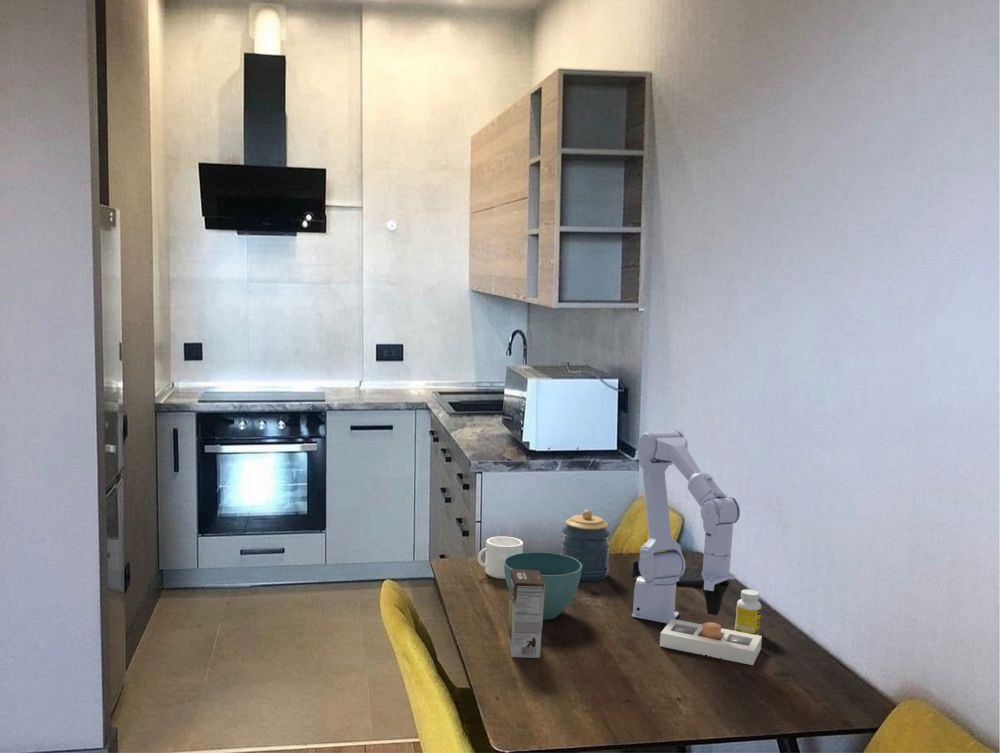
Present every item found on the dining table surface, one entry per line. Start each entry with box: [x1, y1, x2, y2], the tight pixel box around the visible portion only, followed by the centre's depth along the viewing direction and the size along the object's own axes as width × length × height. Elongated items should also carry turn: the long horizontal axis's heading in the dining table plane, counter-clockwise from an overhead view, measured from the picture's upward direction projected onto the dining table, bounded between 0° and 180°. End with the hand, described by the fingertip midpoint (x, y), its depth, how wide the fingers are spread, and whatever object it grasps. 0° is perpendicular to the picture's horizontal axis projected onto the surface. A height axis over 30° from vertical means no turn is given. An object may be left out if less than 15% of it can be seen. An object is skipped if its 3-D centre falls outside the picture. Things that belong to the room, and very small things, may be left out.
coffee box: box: [507, 569, 545, 659], centre depth 203 cm, size 9×6×16 cm
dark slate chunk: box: [631, 560, 704, 587], centre depth 258 cm, size 15×22×5 cm
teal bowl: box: [504, 551, 582, 621], centre depth 225 cm, size 18×18×12 cm
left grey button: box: [675, 626, 693, 635], centre depth 212 cm, size 4×4×3 cm
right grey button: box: [729, 636, 749, 646], centre depth 207 cm, size 4×4×3 cm
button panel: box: [659, 618, 763, 666], centre depth 210 cm, size 20×10×3 cm, turn 66°
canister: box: [560, 509, 612, 582], centre depth 256 cm, size 13×13×18 cm
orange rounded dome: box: [702, 621, 722, 640], centre depth 210 cm, size 4×4×3 cm
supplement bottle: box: [734, 589, 762, 636], centre depth 219 cm, size 5×5×10 cm
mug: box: [477, 536, 524, 580], centre depth 253 cm, size 12×10×9 cm
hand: (713, 613), depth 209 cm, fingers closed
